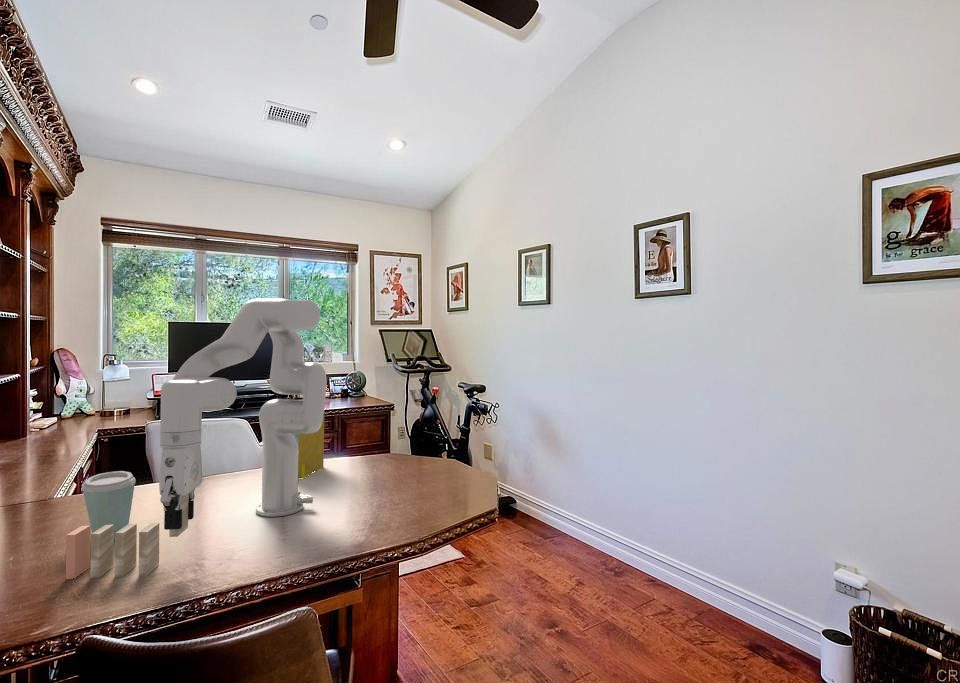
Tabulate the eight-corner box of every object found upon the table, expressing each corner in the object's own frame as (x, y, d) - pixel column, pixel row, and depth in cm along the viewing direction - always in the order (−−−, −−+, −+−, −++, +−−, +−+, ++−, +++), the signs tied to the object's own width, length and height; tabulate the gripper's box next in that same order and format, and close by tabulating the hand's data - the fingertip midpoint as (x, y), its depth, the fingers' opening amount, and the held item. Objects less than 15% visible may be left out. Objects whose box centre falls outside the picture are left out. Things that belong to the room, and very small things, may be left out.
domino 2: (113, 566, 106) (113, 524, 106) (99, 577, 101) (99, 533, 101) (105, 566, 106) (105, 524, 106) (90, 578, 101) (90, 534, 101)
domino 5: (188, 527, 108) (188, 486, 108) (177, 536, 103) (178, 493, 103) (180, 527, 108) (181, 486, 108) (169, 536, 103) (170, 493, 103)
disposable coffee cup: (134, 540, 119) (135, 478, 119) (77, 550, 113) (78, 485, 113) (136, 526, 128) (137, 468, 128) (83, 534, 122) (84, 473, 122)
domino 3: (136, 565, 107) (136, 523, 107) (123, 576, 102) (123, 532, 102) (128, 565, 106) (128, 523, 106) (114, 576, 101) (115, 533, 101)
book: (302, 479, 173) (303, 407, 172) (285, 477, 174) (286, 406, 174) (327, 466, 189) (328, 401, 189) (311, 465, 191) (312, 400, 190)
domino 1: (90, 567, 105) (90, 525, 105) (74, 578, 100) (75, 534, 100) (81, 568, 105) (82, 525, 105) (65, 579, 100) (66, 535, 100)
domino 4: (159, 564, 107) (159, 522, 107) (147, 575, 102) (147, 531, 102) (151, 564, 107) (151, 523, 107) (138, 575, 102) (139, 532, 102)
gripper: (182, 446, 97) (180, 539, 97) (215, 431, 114) (213, 510, 114) (140, 446, 96) (138, 540, 96) (180, 431, 113) (178, 511, 113)
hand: (179, 523), depth 105 cm, fingers closed on domino 5, 4 cm apart
